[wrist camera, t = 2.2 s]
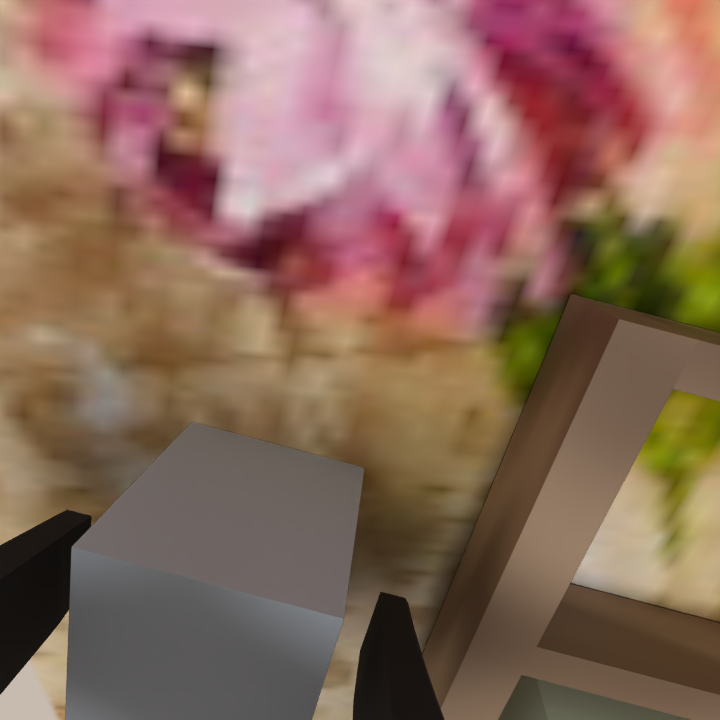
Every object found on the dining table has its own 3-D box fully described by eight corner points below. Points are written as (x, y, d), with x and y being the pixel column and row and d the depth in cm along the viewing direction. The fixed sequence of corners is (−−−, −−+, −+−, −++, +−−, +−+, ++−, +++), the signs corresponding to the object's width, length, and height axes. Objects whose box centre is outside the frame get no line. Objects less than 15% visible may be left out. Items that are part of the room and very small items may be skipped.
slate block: (326, 596, 14) (290, 786, 10) (174, 556, 14) (64, 727, 10) (364, 465, 13) (343, 618, 8) (192, 420, 13) (71, 547, 8)
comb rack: (612, 807, 16) (648, 909, 14) (383, 747, 16) (381, 838, 14) (921, 386, 11) (1070, 437, 8) (570, 293, 11) (619, 318, 8)
